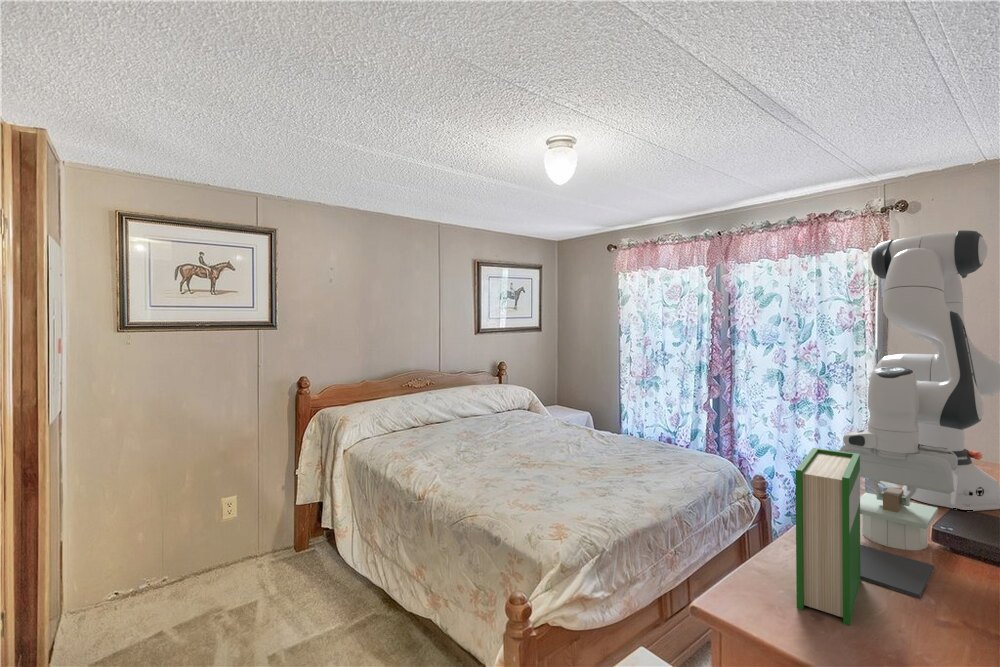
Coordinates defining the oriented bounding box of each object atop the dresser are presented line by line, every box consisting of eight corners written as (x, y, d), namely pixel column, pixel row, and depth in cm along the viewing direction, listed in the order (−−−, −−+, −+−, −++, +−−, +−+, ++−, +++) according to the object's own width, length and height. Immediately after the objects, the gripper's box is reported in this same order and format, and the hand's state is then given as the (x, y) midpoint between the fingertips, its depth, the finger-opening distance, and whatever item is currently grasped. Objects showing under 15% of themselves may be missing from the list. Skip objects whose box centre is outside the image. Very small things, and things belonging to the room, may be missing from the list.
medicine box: (904, 524, 113) (903, 488, 113) (882, 523, 114) (882, 487, 113) (884, 511, 121) (884, 477, 120) (864, 510, 121) (864, 476, 121)
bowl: (901, 528, 111) (901, 502, 111) (940, 550, 100) (940, 522, 100) (851, 527, 112) (851, 502, 112) (884, 549, 101) (884, 521, 101)
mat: (843, 542, 104) (843, 539, 104) (934, 568, 93) (934, 565, 93) (820, 565, 95) (820, 562, 95) (919, 598, 83) (919, 594, 83)
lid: (865, 496, 115) (865, 478, 115) (937, 512, 105) (937, 492, 105) (849, 511, 106) (849, 491, 106) (926, 529, 96) (926, 507, 96)
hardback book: (850, 625, 76) (849, 478, 76) (796, 608, 81) (795, 469, 81) (860, 579, 89) (859, 453, 89) (814, 567, 94) (813, 447, 94)
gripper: (959, 446, 99) (960, 512, 100) (843, 431, 115) (843, 487, 115) (955, 452, 95) (955, 520, 96) (834, 435, 111) (835, 494, 111)
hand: (893, 502), depth 106 cm, fingers open, 3 cm apart
